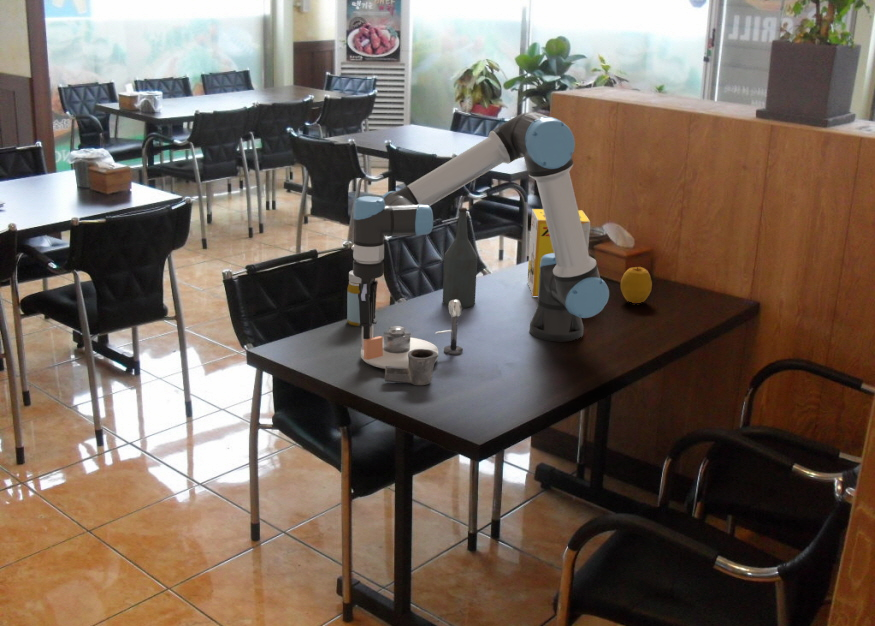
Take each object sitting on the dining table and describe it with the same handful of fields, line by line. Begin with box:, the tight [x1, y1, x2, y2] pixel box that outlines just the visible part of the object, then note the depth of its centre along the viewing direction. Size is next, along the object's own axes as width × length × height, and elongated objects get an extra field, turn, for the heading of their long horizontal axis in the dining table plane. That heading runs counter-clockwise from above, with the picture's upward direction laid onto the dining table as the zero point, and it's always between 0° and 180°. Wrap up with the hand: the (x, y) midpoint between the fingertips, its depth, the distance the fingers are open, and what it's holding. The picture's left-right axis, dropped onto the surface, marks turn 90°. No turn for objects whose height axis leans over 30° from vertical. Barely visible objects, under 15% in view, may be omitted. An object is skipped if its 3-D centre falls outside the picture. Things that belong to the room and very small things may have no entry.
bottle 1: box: [346, 269, 361, 327], centre depth 276 cm, size 7×7×15 cm
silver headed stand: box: [435, 300, 464, 356], centre depth 256 cm, size 8×5×14 cm, turn 118°
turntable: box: [360, 335, 439, 370], centre depth 250 cm, size 21×20×6 cm
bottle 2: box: [442, 207, 478, 310], centre depth 293 cm, size 10×10×30 cm
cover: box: [382, 325, 412, 353], centre depth 251 cm, size 7×7×6 cm
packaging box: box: [526, 208, 591, 297], centre depth 310 cm, size 16×16×25 cm
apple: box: [620, 266, 653, 304], centre depth 303 cm, size 10×10×12 cm
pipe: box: [384, 349, 439, 386], centre depth 236 cm, size 6×13×8 cm, turn 94°
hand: (367, 349), depth 247 cm, fingers closed
